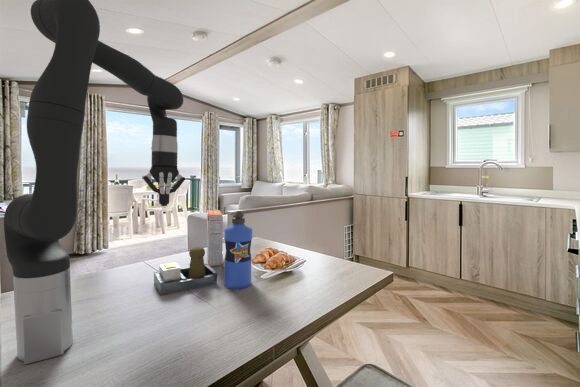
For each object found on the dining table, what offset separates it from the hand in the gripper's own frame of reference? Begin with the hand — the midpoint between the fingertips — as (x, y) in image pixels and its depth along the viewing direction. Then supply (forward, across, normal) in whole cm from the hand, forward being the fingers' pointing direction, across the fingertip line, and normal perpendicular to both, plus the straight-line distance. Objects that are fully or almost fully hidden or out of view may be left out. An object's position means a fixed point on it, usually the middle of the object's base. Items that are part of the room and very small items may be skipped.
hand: (164, 205), depth 95 cm
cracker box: (+26, +24, +20) cm, 41 cm away
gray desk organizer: (+27, +7, 0) cm, 28 cm away
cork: (+26, +11, 0) cm, 28 cm away
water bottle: (+27, +22, -8) cm, 36 cm away
